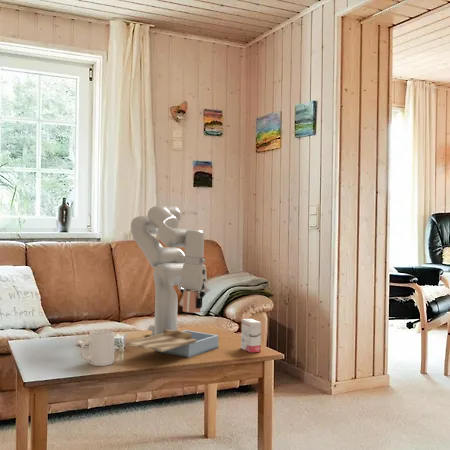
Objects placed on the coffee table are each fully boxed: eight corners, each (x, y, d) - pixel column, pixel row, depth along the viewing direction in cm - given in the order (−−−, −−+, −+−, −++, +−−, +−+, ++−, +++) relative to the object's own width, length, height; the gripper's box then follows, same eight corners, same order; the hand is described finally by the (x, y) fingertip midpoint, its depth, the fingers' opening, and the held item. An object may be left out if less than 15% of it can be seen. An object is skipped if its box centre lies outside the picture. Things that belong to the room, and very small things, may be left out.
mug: (75, 363, 203) (75, 332, 202) (106, 359, 210) (107, 329, 210) (85, 369, 196) (86, 337, 196) (118, 364, 203) (118, 333, 203)
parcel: (190, 310, 233) (191, 290, 233) (200, 312, 230) (201, 291, 230) (182, 311, 228) (183, 290, 229) (193, 312, 226) (194, 291, 226)
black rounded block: (74, 346, 229) (74, 336, 229) (86, 342, 236) (87, 332, 236) (93, 349, 226) (93, 338, 226) (105, 345, 233) (105, 335, 233)
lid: (126, 344, 210) (126, 337, 210) (161, 335, 227) (161, 328, 227) (162, 351, 201) (162, 343, 201) (196, 341, 219) (196, 334, 219)
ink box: (261, 352, 227) (262, 322, 227) (249, 353, 225) (250, 322, 225) (251, 347, 235) (252, 318, 235) (240, 348, 233) (241, 318, 233)
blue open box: (154, 351, 224) (155, 338, 224) (185, 342, 241) (185, 330, 240) (188, 357, 215) (189, 344, 215) (218, 347, 232) (218, 335, 232)
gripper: (217, 262, 228) (216, 308, 229) (182, 259, 237) (181, 304, 238) (206, 263, 222) (205, 310, 222) (170, 260, 231) (169, 306, 231)
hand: (192, 306), depth 230 cm, fingers closed on parcel, 5 cm apart
